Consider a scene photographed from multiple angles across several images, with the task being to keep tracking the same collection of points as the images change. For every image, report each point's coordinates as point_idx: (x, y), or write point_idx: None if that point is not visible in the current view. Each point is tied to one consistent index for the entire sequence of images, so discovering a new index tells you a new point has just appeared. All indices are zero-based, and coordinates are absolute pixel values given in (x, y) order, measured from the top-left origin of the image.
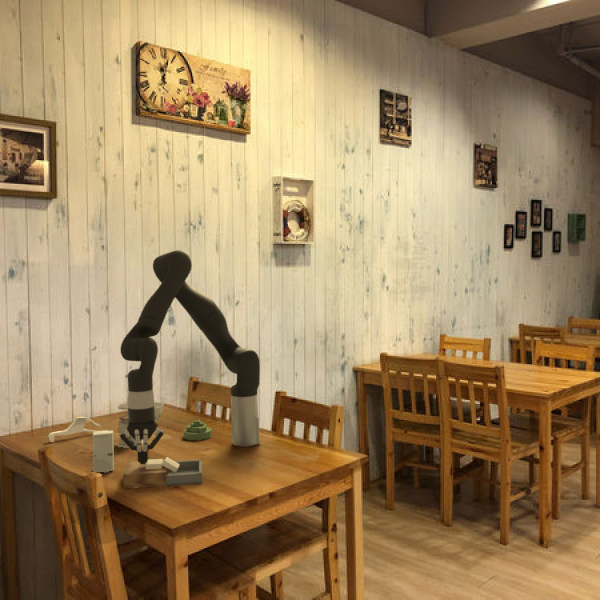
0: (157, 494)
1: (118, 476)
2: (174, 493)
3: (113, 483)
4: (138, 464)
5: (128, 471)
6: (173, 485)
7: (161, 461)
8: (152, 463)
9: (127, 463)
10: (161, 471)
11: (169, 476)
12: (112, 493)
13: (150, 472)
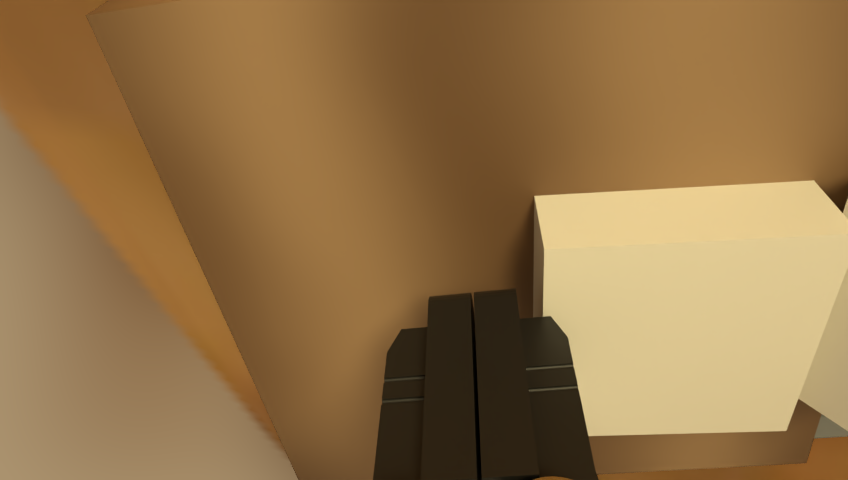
0: (652, 475)
1: (61, 3)
2: (794, 472)
3: (148, 237)
4: (360, 177)
5: (319, 411)
6: None
7: (802, 354)
8: (646, 417)
9: (130, 108)
10: (747, 447)
11: (819, 430)
12: (271, 433)
13: (608, 458)
